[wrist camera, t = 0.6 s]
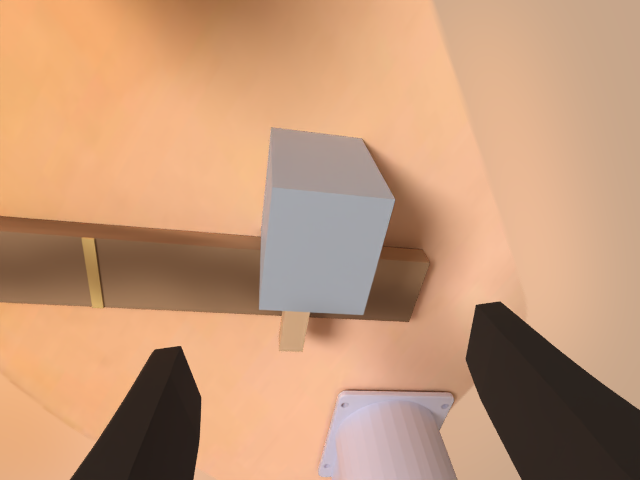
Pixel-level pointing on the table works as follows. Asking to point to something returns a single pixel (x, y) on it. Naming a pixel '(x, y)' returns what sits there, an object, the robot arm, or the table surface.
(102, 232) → the board
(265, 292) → the grey tall block
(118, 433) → the robot arm
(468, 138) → the table surface
